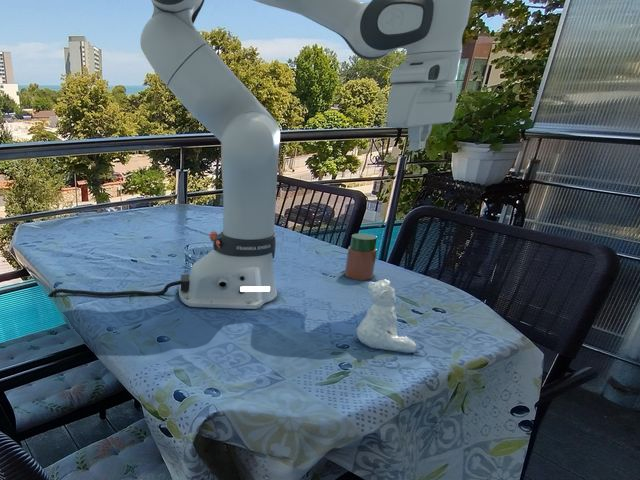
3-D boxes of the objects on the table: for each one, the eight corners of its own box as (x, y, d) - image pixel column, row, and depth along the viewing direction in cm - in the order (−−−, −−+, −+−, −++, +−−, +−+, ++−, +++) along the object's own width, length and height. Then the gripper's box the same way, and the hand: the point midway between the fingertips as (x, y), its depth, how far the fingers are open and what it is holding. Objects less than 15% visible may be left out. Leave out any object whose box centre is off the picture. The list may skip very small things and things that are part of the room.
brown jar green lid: (351, 280, 112) (356, 240, 108) (340, 271, 118) (345, 233, 114) (377, 279, 113) (383, 239, 109) (365, 270, 118) (371, 232, 115)
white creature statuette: (418, 354, 80) (432, 289, 75) (369, 357, 79) (380, 292, 75) (389, 329, 88) (399, 270, 84) (345, 332, 88) (353, 272, 83)
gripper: (437, 73, 93) (424, 145, 99) (385, 72, 82) (373, 153, 87) (472, 71, 89) (456, 146, 94) (422, 69, 77) (407, 156, 82)
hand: (416, 150), depth 90 cm, fingers closed
